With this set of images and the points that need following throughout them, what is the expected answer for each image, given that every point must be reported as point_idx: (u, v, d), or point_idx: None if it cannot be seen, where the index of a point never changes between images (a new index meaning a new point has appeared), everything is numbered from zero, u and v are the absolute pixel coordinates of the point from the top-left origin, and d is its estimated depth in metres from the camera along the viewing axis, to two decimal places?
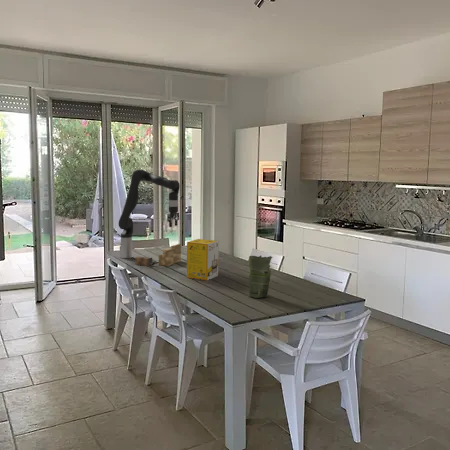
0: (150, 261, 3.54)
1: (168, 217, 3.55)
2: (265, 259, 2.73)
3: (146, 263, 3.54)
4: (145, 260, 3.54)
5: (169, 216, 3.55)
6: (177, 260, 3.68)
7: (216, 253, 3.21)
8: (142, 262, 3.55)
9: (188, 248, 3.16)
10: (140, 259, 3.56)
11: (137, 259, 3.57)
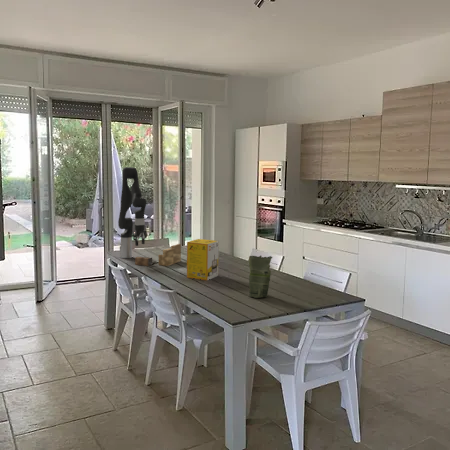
0: (150, 261, 3.54)
1: (134, 236, 3.50)
2: (265, 259, 2.73)
3: (146, 263, 3.54)
4: (145, 260, 3.54)
5: (135, 235, 3.49)
6: (177, 260, 3.68)
7: (216, 253, 3.21)
8: (142, 262, 3.55)
9: (188, 248, 3.16)
10: (140, 259, 3.56)
11: (137, 259, 3.57)
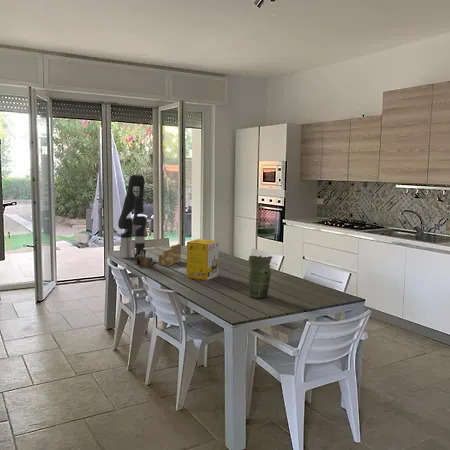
0: (150, 261, 3.54)
1: (135, 255, 3.52)
2: (265, 259, 2.73)
3: (146, 262, 3.54)
4: (145, 260, 3.54)
5: (135, 254, 3.52)
6: (177, 260, 3.68)
7: (216, 253, 3.21)
8: (142, 262, 3.55)
9: (188, 248, 3.16)
10: (140, 259, 3.56)
11: None
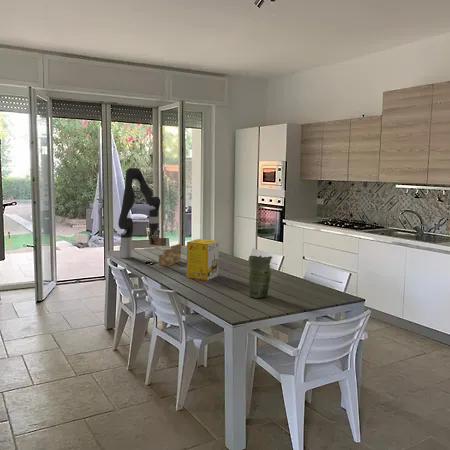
0: (164, 241, 3.57)
1: (149, 235, 3.56)
2: (265, 259, 2.73)
3: (160, 243, 3.57)
4: (159, 240, 3.57)
5: (150, 234, 3.55)
6: (177, 260, 3.68)
7: (216, 253, 3.21)
8: (156, 242, 3.58)
9: (188, 248, 3.16)
10: (154, 239, 3.59)
11: None
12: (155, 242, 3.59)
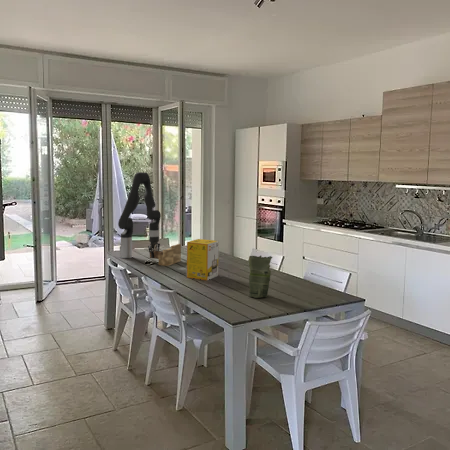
0: None
1: (149, 249, 3.57)
2: (265, 259, 2.73)
3: None
4: (159, 254, 3.59)
5: (150, 248, 3.57)
6: (177, 260, 3.68)
7: (216, 253, 3.21)
8: (156, 256, 3.60)
9: (188, 248, 3.16)
10: (154, 253, 3.60)
11: None
12: (155, 255, 3.60)
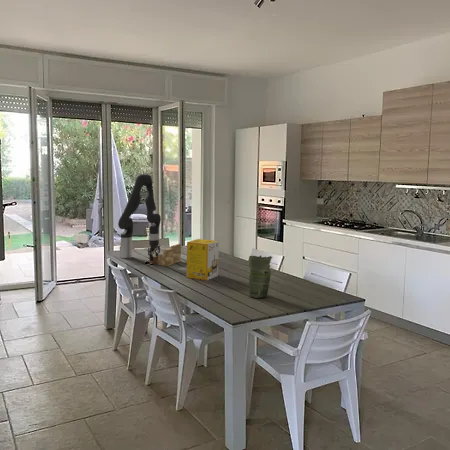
0: None
1: (149, 251, 3.57)
2: (265, 259, 2.73)
3: None
4: None
5: (149, 250, 3.56)
6: (177, 260, 3.68)
7: (216, 253, 3.21)
8: (156, 261, 3.61)
9: (188, 248, 3.16)
10: (154, 258, 3.61)
11: None
12: (155, 261, 3.61)
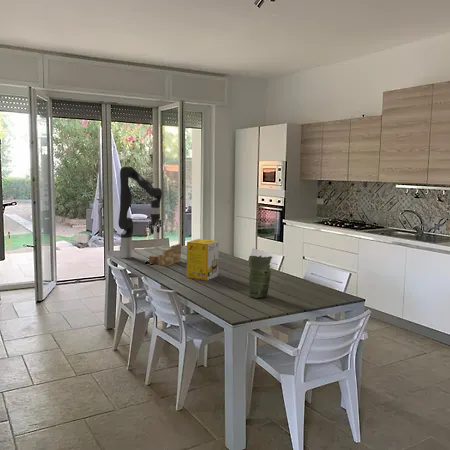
0: None
1: (149, 224, 3.61)
2: (265, 259, 2.73)
3: None
4: None
5: (150, 223, 3.61)
6: (177, 260, 3.68)
7: (216, 253, 3.21)
8: (156, 261, 3.61)
9: (188, 248, 3.16)
10: (154, 258, 3.61)
11: (151, 258, 3.62)
12: (155, 261, 3.61)
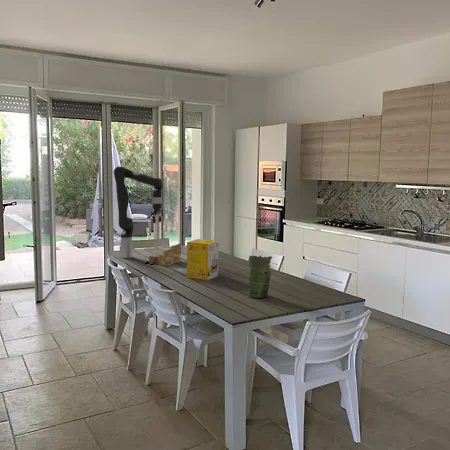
0: None
1: (152, 213, 3.70)
2: (265, 259, 2.73)
3: None
4: None
5: (153, 212, 3.70)
6: (177, 260, 3.68)
7: (216, 253, 3.21)
8: (156, 261, 3.61)
9: (188, 248, 3.16)
10: (154, 258, 3.61)
11: (151, 258, 3.62)
12: (155, 261, 3.61)
